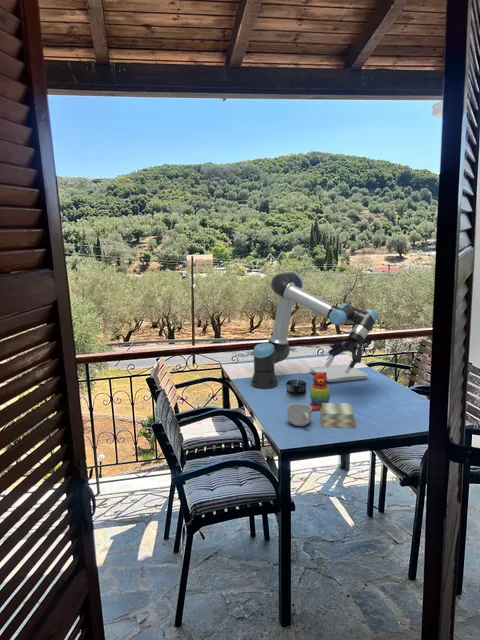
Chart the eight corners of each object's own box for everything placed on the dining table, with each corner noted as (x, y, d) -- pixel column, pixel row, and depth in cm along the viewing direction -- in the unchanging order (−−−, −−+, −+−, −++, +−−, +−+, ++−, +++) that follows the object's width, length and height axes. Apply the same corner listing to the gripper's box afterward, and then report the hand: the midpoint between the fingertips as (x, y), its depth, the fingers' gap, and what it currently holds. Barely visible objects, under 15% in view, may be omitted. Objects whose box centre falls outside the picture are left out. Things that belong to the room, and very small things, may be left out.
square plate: (369, 380, 250) (370, 374, 249) (326, 385, 244) (326, 379, 243) (347, 368, 276) (347, 363, 275) (308, 372, 270) (308, 366, 269)
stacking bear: (308, 411, 205) (308, 375, 202) (308, 403, 215) (308, 369, 212) (331, 412, 203) (331, 375, 200) (330, 404, 213) (331, 369, 210)
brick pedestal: (322, 426, 186) (322, 413, 185) (320, 414, 200) (320, 402, 199) (354, 427, 184) (355, 414, 183) (351, 415, 198) (351, 403, 197)
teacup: (285, 419, 195) (285, 402, 194) (308, 418, 196) (308, 401, 195) (291, 432, 182) (291, 414, 180) (316, 430, 183) (316, 413, 181)
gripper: (380, 344, 208) (358, 379, 202) (343, 336, 229) (322, 368, 223) (373, 335, 204) (350, 370, 199) (336, 327, 225) (314, 360, 220)
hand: (335, 369), depth 211 cm, fingers open, 13 cm apart
